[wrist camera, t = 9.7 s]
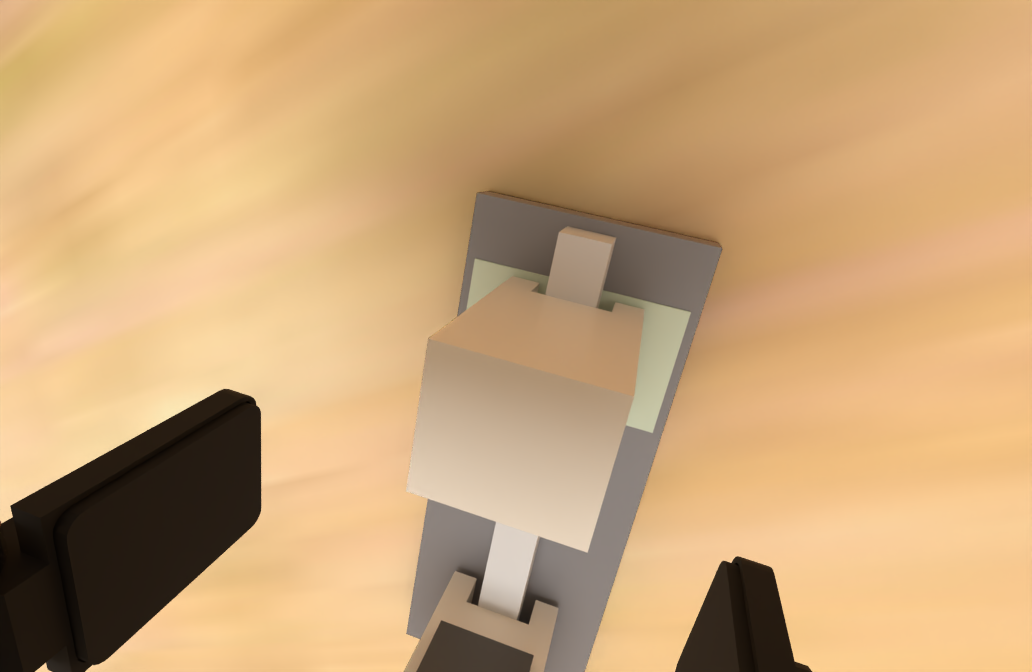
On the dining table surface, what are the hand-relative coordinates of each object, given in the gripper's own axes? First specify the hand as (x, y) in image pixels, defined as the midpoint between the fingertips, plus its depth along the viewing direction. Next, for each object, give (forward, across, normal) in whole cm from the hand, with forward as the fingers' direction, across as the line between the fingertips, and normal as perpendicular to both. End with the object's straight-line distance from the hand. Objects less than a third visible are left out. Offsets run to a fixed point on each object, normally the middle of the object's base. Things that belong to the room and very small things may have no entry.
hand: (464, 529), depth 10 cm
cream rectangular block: (+13, 0, +1) cm, 13 cm away
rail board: (+15, 0, +8) cm, 17 cm away
